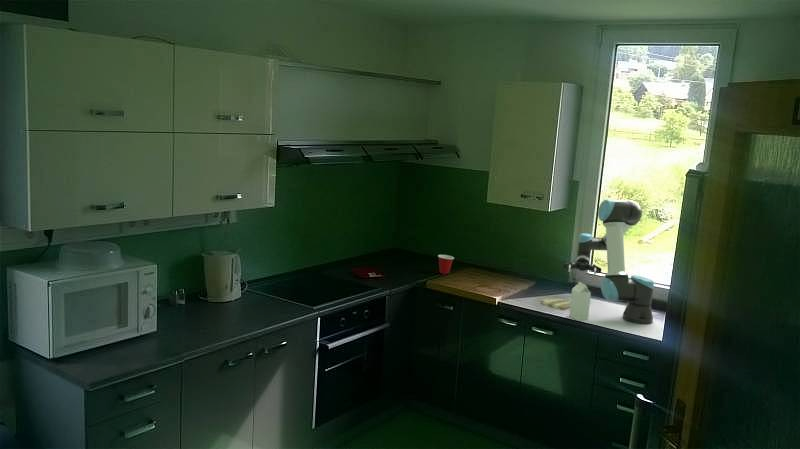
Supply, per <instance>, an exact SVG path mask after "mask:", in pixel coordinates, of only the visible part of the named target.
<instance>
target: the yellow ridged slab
mask: <svg viewBox="0 0 800 449" xmlns="http://www.w3.org/2000/svg"><path fill="white" fill-rule="evenodd" d="M570 303H571V300H566V299H563V298H559V297H556V296H552V297H550V298H545V299H542V300H540V304H542V305H545V306H548V307H552V308H556V309H559V310H562V311H565V310H570Z"/></svg>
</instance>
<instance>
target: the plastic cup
mask: <svg viewBox="0 0 800 449" xmlns="http://www.w3.org/2000/svg"><path fill="white" fill-rule="evenodd" d="M437 258H438V265H439V274H440V273H442V274H447V273H449V274H450V270H451V267H452V264H453V261H454V259H455V257H454V256H452V255H448V254H438V255H437ZM442 274H441V275H442Z"/></svg>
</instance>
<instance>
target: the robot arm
mask: <svg viewBox="0 0 800 449" xmlns="http://www.w3.org/2000/svg"><path fill="white" fill-rule="evenodd" d="M642 215H643V211H642V207H641V206H640V205H639V203H638V202H636V201H635V200H631V199H615V198H611V199H610V198H609V199H608V198H607V199H603V201H601V202H600V205H599V206H598V209H597V216H598V220H599V221H601V222H602V225H603V226H604V227H605V231H606V233H605V234H604V235H603V236H602V237H593V234H591V233H585V232H584V233H582V232H581V233H580V234H579V237H578V244H577V253H576V258H575V259H576V261H575V263H574V262H573V261H569V262H566V263H564V264H563V269H566V271H568V273H571V270H573V269H576V270H579V271H581V272H585V271H590V272H592V273H593V275H594V276H597V275H596V274H598V273H599V274H601V273H602V267H600V266H598V265H596V264H590V261H591V252H592V251H606V261H607V262H606V263H607V264H606V265H607V272H606V274H605V275H604V278H602V279H601V283H600V289H601V294H602V296H603V297H604V298H605V299H606V300H607V301H612V302H613V301H614V302H617V301H618V302H619V301H620V302H623V301H624V302H627V305H626V307H625V308H624V311H623V313H622V318H623V319H624V320H626V321H627V322H631V323H634V324H641V325H643V324H644V325H646V324H647V325H649V324H652V323H653V322H654V315H653V312H652V301H653V293H654V290H655V288H654V284H655V283H654V281H653V280H652V279H650V278H648V277H645V276H640V275H630V276H631V277H630V278H629V274H628V273H627V272H626V271H625V270H626V266H625V265H626V264H625V246H624V244H625V243H624V242H625V241H624V234H626V233H627V232H628V231H629V229H631V228H632V227H634V226H636V225H637V224H638V223H639V222H640V221H641V219H642Z"/></svg>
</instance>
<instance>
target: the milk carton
mask: <svg viewBox="0 0 800 449" xmlns="http://www.w3.org/2000/svg"><path fill="white" fill-rule="evenodd" d="M577 282H578V283H577V284H575V286H574V287H573V288H572V289H571V294H570V302H571V303H570V308H569V315H568V316H569V317H571V318H572V319H574V320H576V321H580V320H581V321H583V320H589V312H590V303H591V295H592V292H591V291H590V290H589V289H588V286H587V285H586V284H585V283H582V282H581V281H577Z"/></svg>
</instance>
